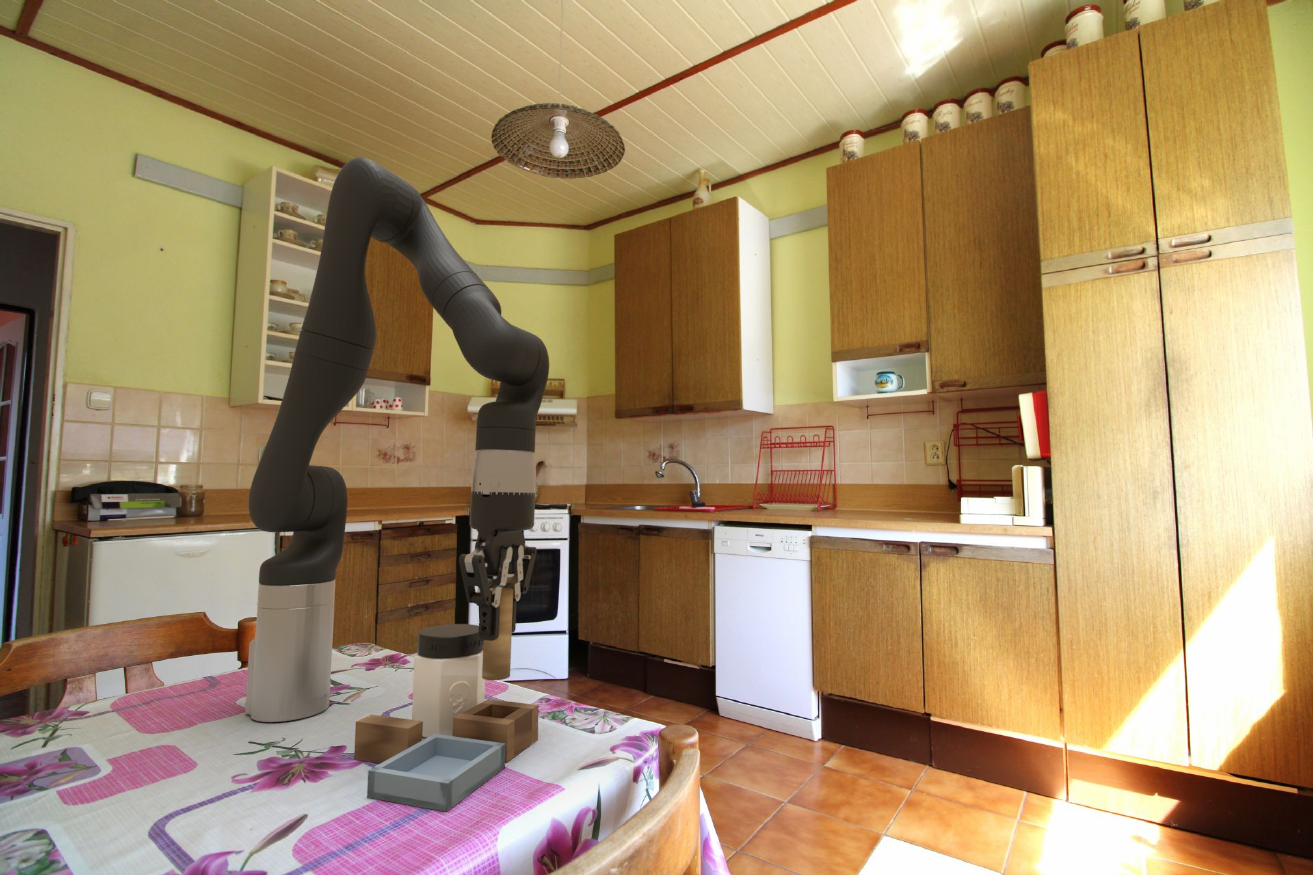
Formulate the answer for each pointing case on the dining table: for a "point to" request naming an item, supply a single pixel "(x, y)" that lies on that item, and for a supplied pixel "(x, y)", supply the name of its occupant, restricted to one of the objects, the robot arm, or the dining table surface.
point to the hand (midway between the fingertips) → (497, 635)
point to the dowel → (500, 642)
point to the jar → (447, 676)
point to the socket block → (500, 724)
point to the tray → (436, 772)
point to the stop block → (385, 737)
